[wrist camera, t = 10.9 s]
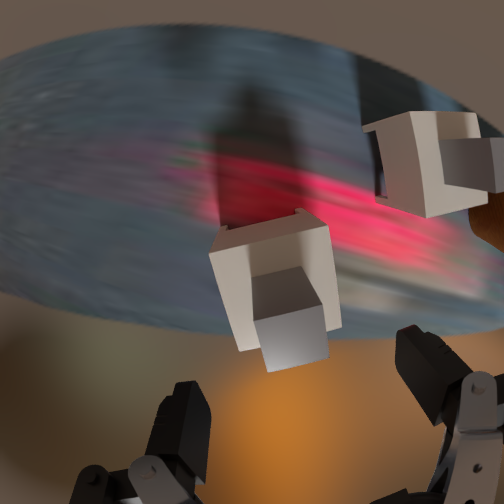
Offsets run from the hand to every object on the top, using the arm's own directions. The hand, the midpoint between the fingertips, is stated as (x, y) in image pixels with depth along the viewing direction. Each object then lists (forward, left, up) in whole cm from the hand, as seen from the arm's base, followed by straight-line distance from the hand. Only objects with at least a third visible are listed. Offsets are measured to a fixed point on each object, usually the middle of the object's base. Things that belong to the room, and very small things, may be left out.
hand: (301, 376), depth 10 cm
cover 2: (-14, -6, -15) cm, 22 cm away
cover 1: (0, 0, -15) cm, 15 cm away
